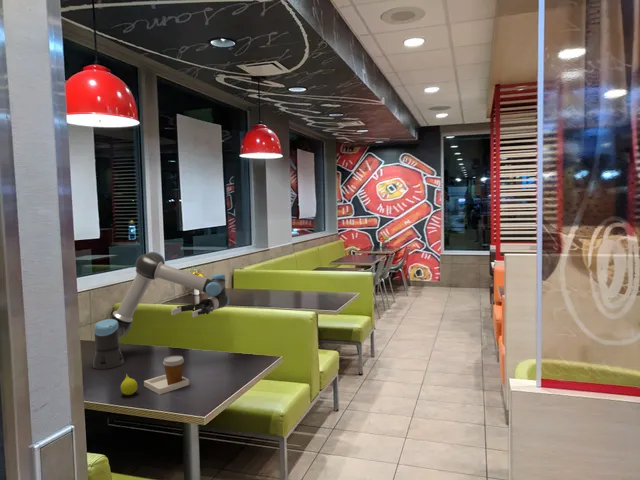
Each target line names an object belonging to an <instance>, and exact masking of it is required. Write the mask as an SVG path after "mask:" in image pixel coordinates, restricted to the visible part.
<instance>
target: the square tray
mask: <svg viewBox="0 0 640 480" xmlns="http://www.w3.org/2000/svg"><path fill="white" fill-rule="evenodd" d="M143 386H144V387H145V388H147V389H148V390H150V391H152V392H154V393H156V394H158V395H159V396H161V395H163V394H166V393H169V392H171V391H175V390H177V389H181V388H183V387H187V386H190V379H188V378H187V377H184V376H182V381H181V382H177V383H174V384H171V385H168V383H167V378H166V374H163V375H159V376H156V377H153V378H150V379H146V380H143Z"/></svg>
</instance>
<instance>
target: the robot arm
mask: <svg viewBox="0 0 640 480" xmlns="http://www.w3.org/2000/svg"><path fill="white" fill-rule="evenodd" d="M135 261H136V262H135V273H136V275H135V277H134V279H133V281H132V282H131V284H130V286H129V287H128V290H127V292H126V294H125V295H124V298H123V299H122V301H121V303H120V304H119V307H118V308H117V310H115V311H113V312H112V314H111V316H110V317H109V318H108V319H103V320H99V321H98V322H96V323H95V324H94V330H93V333H94V343H95V345H94V346H95V347H94V348H95V354H94V358H93V361H92V367H93V368H94V369H96V370H106V369H113V368H116V367H119V366H121V365H123V364H124V356H123V354H122V352H121V351H122V350H121V349H120V339H121V338H122V337H125V336H126V335H127V334H128V333H129V332H130V330H131V327H132V323H133V321H134V319H133V315H134V313H135V312H136V310H137V308H138V306H139V304H140V302H141V300H142V299H143V297H144V295H145V293H146V291H147V289H148V287H149V286H150V284H151V282H152V281H155V280H156V279H162V280H164V281H168V282H171V283H174V284H177V285H181V286H182V287H183V286H184V287H187V288H190V289H193V290H196V291H200V292H203V293H206V294H207V295H208V296H209V297H206V298H203V299H202V300H200V301H199V303H190V304H185V305H179V306H178V305H177V306H176V308H173V309H170V310H171V311H170V312H171V313H170V314H171V316H174V315H177V314H181V313H182V312H190V311H191V314H192V316H191V317H192V318H195V317H198V316H201V315H209V314H210V313H211V312H214V311H216V310H218V309H223V308H225V307H226V306H228V305H229V304H230V302H231V301H230V297H229V294H227V292H226V276H225V274H224V273H214V274H212V275H211V279H210V278H208V277H207V278H206V277H204V276H201V275H197V274H194V273H191V272H188V271H185V270H183V269H182V270H181V269H180V268H176V267H173V266H169V265H166V263H165V258H164V256H163V255H162V254H161V253H159V252H158V251H157V252H156V251H150V252H148V253H144V254H141V255H140V256H139V257H137V259H136V260H135Z"/></svg>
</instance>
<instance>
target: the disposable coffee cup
mask: <svg viewBox="0 0 640 480" xmlns="http://www.w3.org/2000/svg"><path fill="white" fill-rule="evenodd" d="M184 362H185V359H184V357H183V356H182V355H171V356H167V357H164V359H163V362H162V364H163V367H164V372H165V375H166V378H167V383H168V385H171V384H174V383H177V382H181V381H182V377H183V369H184Z"/></svg>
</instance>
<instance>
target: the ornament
mask: <svg viewBox="0 0 640 480" xmlns="http://www.w3.org/2000/svg"><path fill="white" fill-rule="evenodd" d="M137 390H138V382H137V381H136V379H134V378H132V377H131V378H130V377H129V375H128V373H126V374H125V378H124V380H123V381H122V382H121V384H120V391H121V393H122V394H124V395H125V396H131V395H134V393H136V391H137Z"/></svg>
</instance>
